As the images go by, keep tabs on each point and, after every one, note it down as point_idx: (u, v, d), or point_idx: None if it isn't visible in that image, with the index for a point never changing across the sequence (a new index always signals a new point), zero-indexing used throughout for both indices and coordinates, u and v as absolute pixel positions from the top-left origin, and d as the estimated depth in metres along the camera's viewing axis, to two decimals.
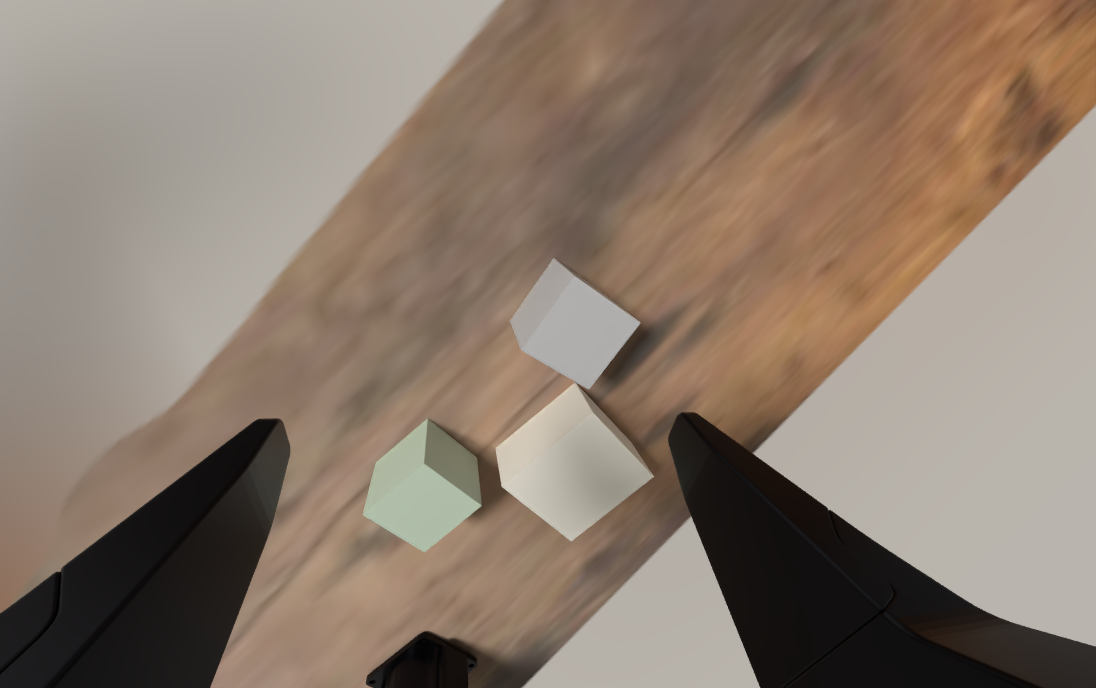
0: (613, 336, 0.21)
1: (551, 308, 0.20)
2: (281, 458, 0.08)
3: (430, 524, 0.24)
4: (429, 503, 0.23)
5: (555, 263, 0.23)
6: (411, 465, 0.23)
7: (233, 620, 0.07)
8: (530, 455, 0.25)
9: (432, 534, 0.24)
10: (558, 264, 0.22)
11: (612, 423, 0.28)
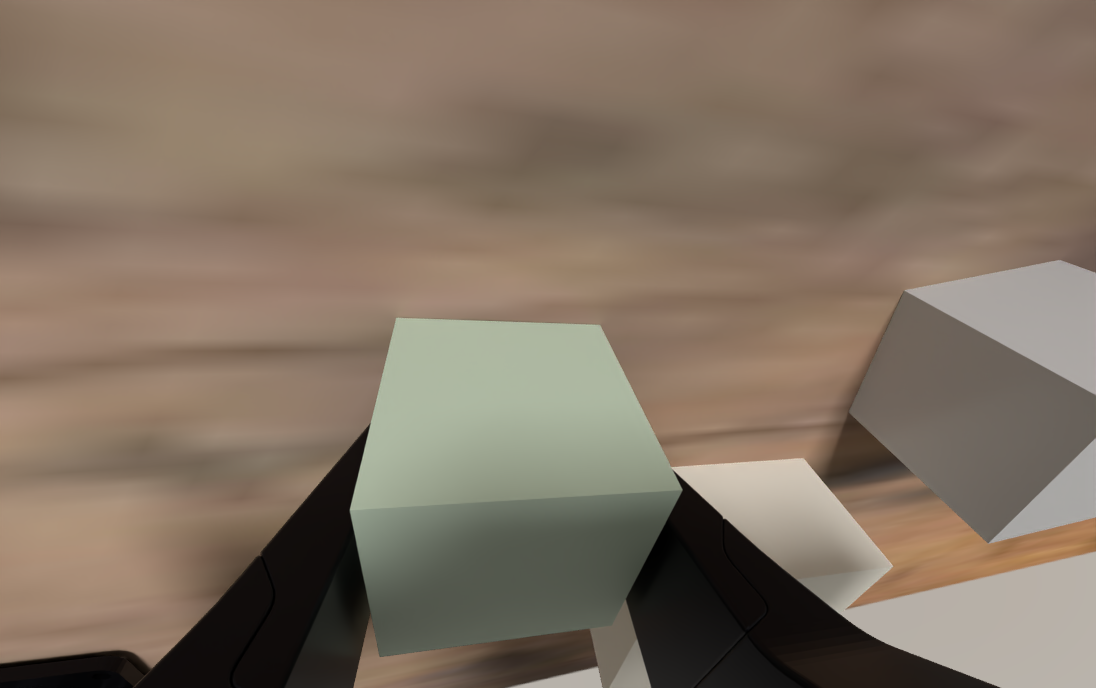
0: None
1: None
2: None
3: (478, 615, 0.07)
4: (546, 576, 0.07)
5: (1095, 275, 0.10)
6: (603, 452, 0.06)
7: None
8: None
9: (452, 632, 0.07)
10: None
11: None
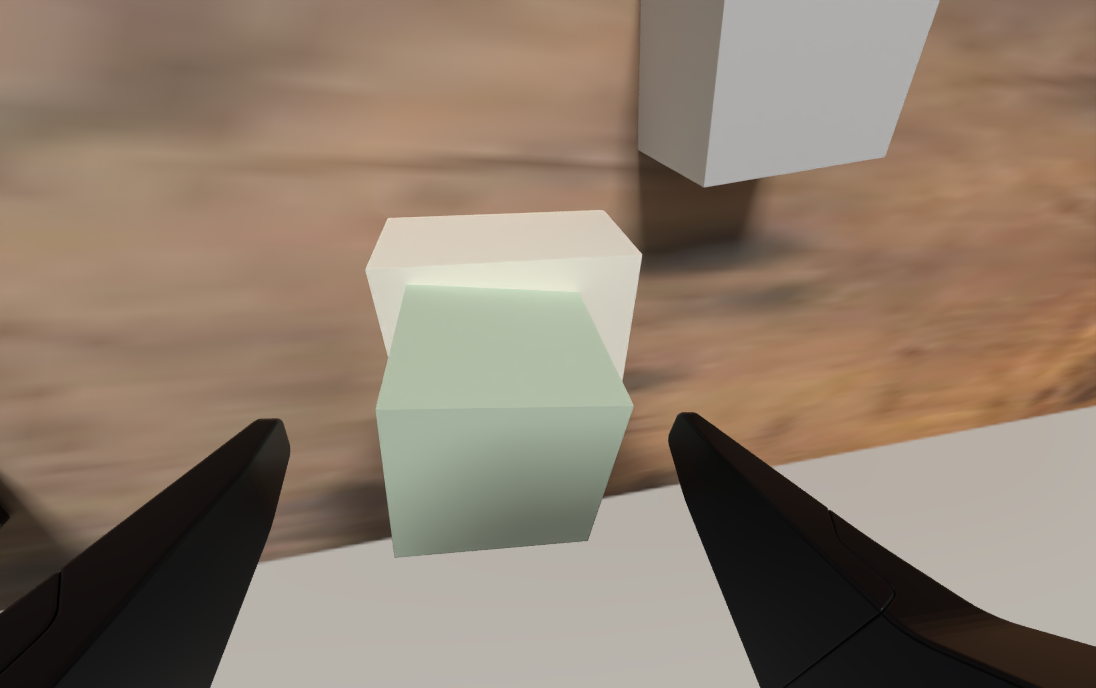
0: (841, 128, 0.09)
1: None
2: (281, 458, 0.08)
3: (475, 520, 0.09)
4: (529, 484, 0.08)
5: None
6: (573, 379, 0.08)
7: (233, 620, 0.07)
8: (465, 254, 0.11)
9: (453, 537, 0.09)
10: None
11: None
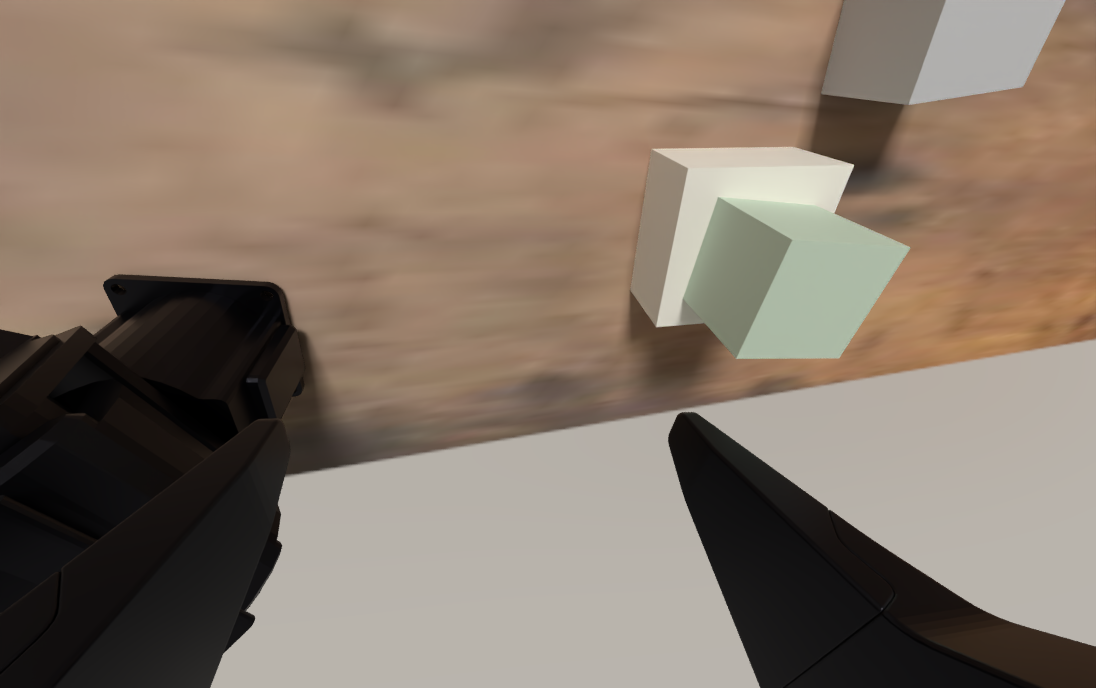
0: (1000, 65, 0.14)
1: None
2: (281, 458, 0.08)
3: (791, 331, 0.15)
4: (832, 304, 0.14)
5: None
6: (867, 237, 0.14)
7: (233, 620, 0.07)
8: (738, 163, 0.16)
9: (774, 344, 0.15)
10: None
11: None
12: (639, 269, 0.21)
